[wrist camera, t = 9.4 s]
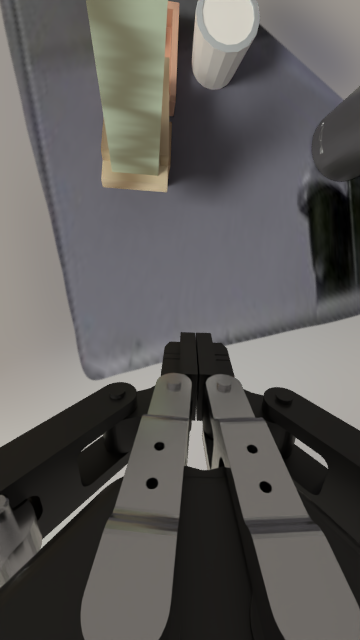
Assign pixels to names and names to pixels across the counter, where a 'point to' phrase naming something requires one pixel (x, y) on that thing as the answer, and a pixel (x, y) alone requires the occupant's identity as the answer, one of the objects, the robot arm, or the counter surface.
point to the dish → (172, 50)
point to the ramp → (132, 91)
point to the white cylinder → (222, 39)
